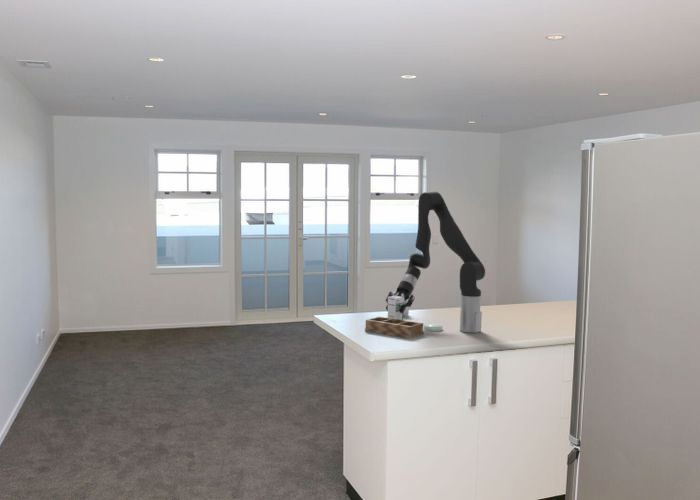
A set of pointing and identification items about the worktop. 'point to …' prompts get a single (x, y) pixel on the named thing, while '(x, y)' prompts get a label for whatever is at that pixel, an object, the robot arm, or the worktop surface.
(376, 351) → the worktop surface
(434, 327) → the dish
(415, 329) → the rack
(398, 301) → the syrup box
